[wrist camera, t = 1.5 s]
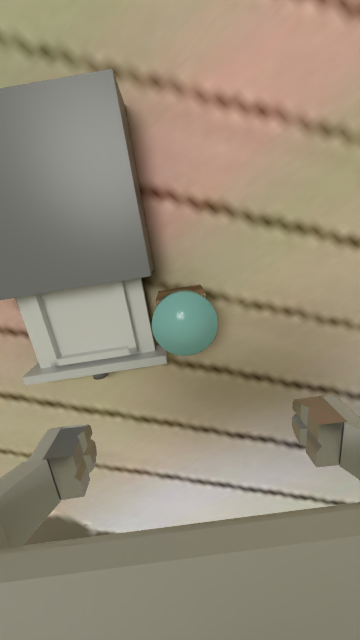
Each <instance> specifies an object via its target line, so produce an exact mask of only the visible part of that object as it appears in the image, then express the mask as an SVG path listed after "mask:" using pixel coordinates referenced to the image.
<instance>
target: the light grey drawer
mask: <svg viewBox="0 0 360 640" xmlns="http://www.w3.org/2000/svg"><path fill="white" fill-rule="evenodd" d="M16 301H17V304H18V306H19V309H20V312H21V315H22V318H23V320H24V323H25V326H26V329H27V331H28V334H29V337H30V340H31V343H32V345H33V348H34V351H35V354H36V356H37V359H38V362H39V363H37V364H36V365H35V366H34V367H33V368H32V369H31V370H30V371H29V372H28V373H26V374H25V375H24V376H23V377H22V380H23V382H24V385H30V384H36V383H43V382H50V381H56V380H63V379H69V378H76V377H82V376H89V375H93V378H94V379H97V380H98V379H102V378H105V377H106V376H108V374H109V372H115V371H122V370H129V369H135V368H142V367H148V366H155V365H161V364H167V352H168V351H166V350H165V349H163V348H162V347H161V346H160V345H155V342H154V337H153V332H152V327H151V322H150V317H149V312H148V307H147V302H146V297H145V292H144V287H143V282H142V278H136V279H130V280H124V281H117V282H111V283H105V284H99V285H92V286H86V287H80V288H73V289H67V290H61V291H54V292H48V293H42V294H35V295H29V296H23V297H17V298H16Z"/></svg>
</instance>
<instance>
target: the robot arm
mask: <svg viewBox="0 0 360 640" xmlns="http://www.w3.org/2000/svg"><path fill="white" fill-rule="evenodd" d="M293 410H294V411H295V412H296V414H295V415H294V416H293V418H292V426H293V430H294V433H295V436H296V438H297V439H298V441H299V443H301V444H302V445H304V446H306V453H307V454H308V456H309V457H310V459H311V460H312V462H313V463H314V465H315V466H316V467H323V466H333V465H340V467H342V468H343V469H345V470H346V471H348V472H349V473H351V474H352V475H354V476H355V477H357V478H358V479H359V480H360V417H359V416H358V415H356V414H355V413H354V412H353V411H352V410H351V409H350V408H349V407H347V406H346V405H345V404H344V403H343V402H342V401H341V400H340V399H338V398H337V397H336V396H335V395H333V394H328V395H322V396H318V397H310V398H302V399H294V401H293ZM91 436H92V429H91V426H90V425H88V424H87V425H77V426H67V427H58V428H51V429H49V430H48V431H47V432H46V434H45V435H44V437H43V438H42V440H41V441H40V443H39V444H38V446H37V447H36V449H35V450H34V452H33V453H32V455H31V457H30V458H29V460H28V461H27V462H23V463H21V464H20V465H18V466H17V467H16V468H14V469H13V470H11V471H10V472H9V473H7V474H6V475H4V476H3V477H2V478H0V640H360V502H358V503H351V504H343V505H335V506H328V507H320V508H312V509H304V510H296V511H289V512H281V513H273V514H265V515H257V516H249V517H242V518H234V519H226V520H219V521H211V522H203V523H195V524H188V525H180V526H172V527H165V528H157V529H149V530H141V531H134V532H126V533H118V534H110V535H103V536H95V537H88V538H80V539H72V540H64V541H56V542H49V543H41V544H34V545H25V546H22V545H23V544H24V543H25V542H26V540H27V539H28V538H29V537H30V536H31V535H32V534H33V533H34V531H35V530H36V529H37V528H38V527H39V526H40V524H41V523H42V522H43V521H44V520H45V519H46V518H47V516H48V515H49V514H50V513H51V512H52V511H53V510H54V508H55V507H56V506H57V505H58V504H59V503H60V500H65V499H71V498H77V497H84V496H85V493H86V490H87V487H88V484H89V481H90V477H89V473H90V472H91V471H92V470H93V469H94V466H95V463H96V455H97V452H96V445H95V442H94V441H93V440H92V439H90V438H91Z"/></svg>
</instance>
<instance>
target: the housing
mask: <svg viewBox="0 0 360 640" xmlns="http://www.w3.org/2000/svg"><path fill="white" fill-rule="evenodd" d="M154 270H155V269H154V264H153V258H152V253H151V247H150V242H149V236H148V231H147V225H146V220H145V214H144V209H143V203H142V198H141V192H140V187H139V181H138V176H137V170H136V165H135V159H134V154H133V148H132V143H131V137H130V132H129V126H128V121H127V115H126V110H125V104H124V101H123V99H122V96H121V93H120V90H119V87H118V84H117V81H116V79H115V76H114V73H113V70H112V69H109V70H104V71H98V72H92V73H86V74H81V75H75V76H69V77H64V78H58V79H52V80H46V81H41V82H35V83H29V84H23V85H18V86H12V87H6V88H0V300H4V299H10V298H17V297H23V296H29V295H35V294H42V293H48V292H54V291H61V290H67V289H73V288H80V287H86V286H92V285H99V284H105V283H111V282H117V281H124V280H130V279H136V278H143V277H149V276H151V275H152V274H151V273H152V271H154Z"/></svg>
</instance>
